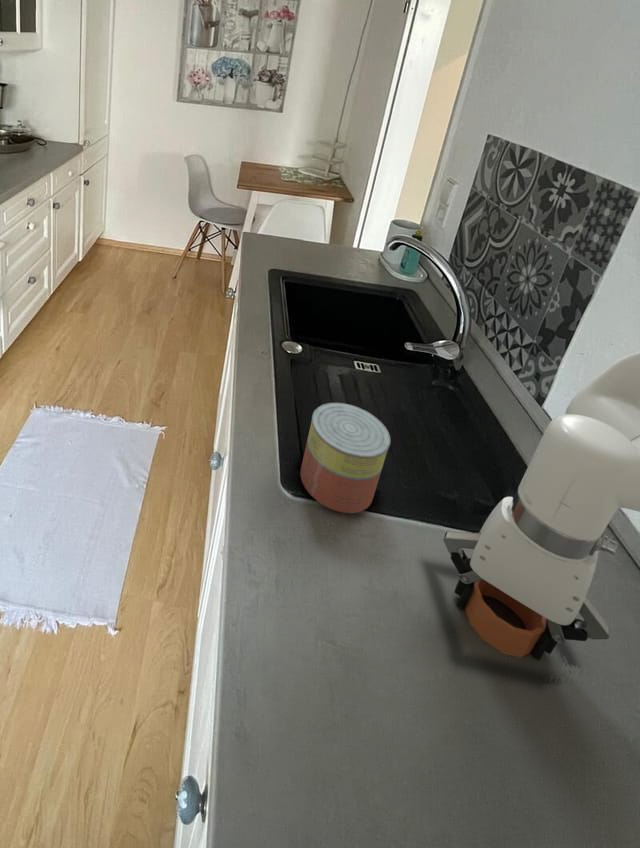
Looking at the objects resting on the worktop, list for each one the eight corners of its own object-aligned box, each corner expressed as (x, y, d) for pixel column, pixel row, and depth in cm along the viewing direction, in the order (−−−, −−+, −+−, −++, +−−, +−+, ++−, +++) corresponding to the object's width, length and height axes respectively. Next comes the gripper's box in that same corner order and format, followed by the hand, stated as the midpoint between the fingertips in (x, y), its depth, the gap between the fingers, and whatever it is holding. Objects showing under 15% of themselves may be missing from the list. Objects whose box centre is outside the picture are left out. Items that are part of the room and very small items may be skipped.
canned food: (375, 476, 82) (392, 418, 78) (369, 530, 73) (388, 468, 68) (306, 450, 87) (318, 393, 82) (291, 498, 77) (305, 437, 73)
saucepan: (526, 675, 57) (543, 648, 55) (457, 627, 61) (470, 601, 59) (538, 589, 67) (552, 563, 65) (477, 553, 71) (489, 528, 69)
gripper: (655, 549, 52) (587, 652, 59) (470, 457, 62) (429, 554, 69) (661, 604, 47) (585, 711, 54) (457, 493, 57) (414, 595, 64)
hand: (498, 622), depth 61 cm, fingers closed on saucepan, 7 cm apart
